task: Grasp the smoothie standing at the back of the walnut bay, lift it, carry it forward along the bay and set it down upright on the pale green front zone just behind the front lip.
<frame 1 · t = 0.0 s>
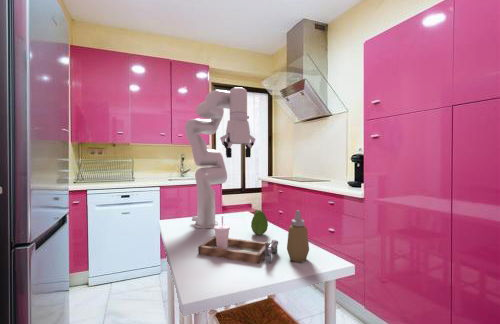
hand: (238, 157, 109), 37 cm above the table, tool pointing down, fingers open, 9 cm apart
squeeze bottle: (297, 259, 92), on the table
bay: (234, 252, 99), on the table
avocado: (259, 235, 121), on the table
smoothie: (222, 251, 101), resting in bay
grey metal handle: (271, 257, 94), on the table
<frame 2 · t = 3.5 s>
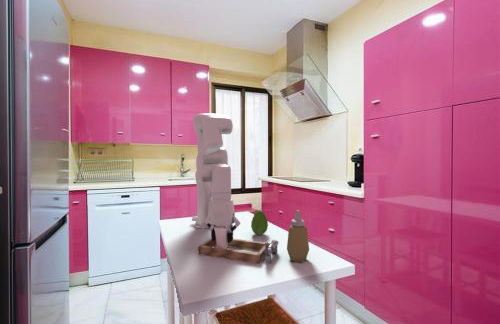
hand: (222, 240, 101), 4 cm above the table, tool pointing down, fingers closed on smoothie, 6 cm apart
smoothie: (222, 251, 101), resting in bay, touching gripper
everything else where it was.
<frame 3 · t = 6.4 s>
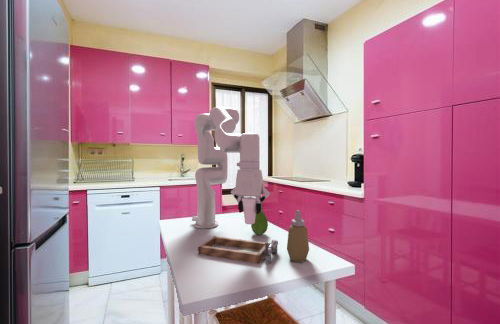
hand: (249, 212, 96), 16 cm above the table, tool pointing down, fingers closed on smoothie, 6 cm apart
smoothie: (249, 223, 96), point 12 cm above the table, touching gripper
everything else where it was.
when the fingers open (5 cm above the table, at t = 9.2 s): smoothie stays where it is, resting on bay.
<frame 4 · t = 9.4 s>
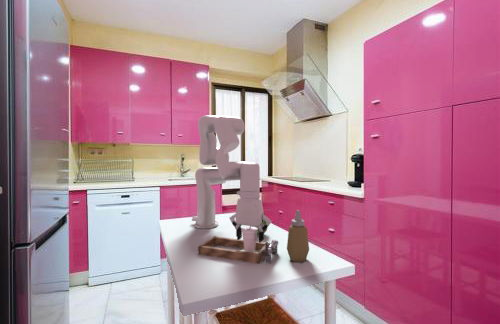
hand: (250, 239, 97), 6 cm above the table, tool pointing down, fingers open, 8 cm apart
smoothie: (250, 254, 97), resting on bay
everything else where it was.
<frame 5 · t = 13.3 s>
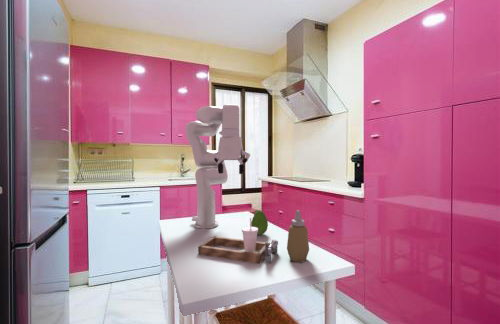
hand: (231, 173, 108), 30 cm above the table, tool pointing down, fingers open, 9 cm apart
nothing on the table moved.
at the end: smoothie inside the target area (0.1 cm from its centre), resting on bay; smoothie tilted 0°; the gripper is holding nothing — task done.
